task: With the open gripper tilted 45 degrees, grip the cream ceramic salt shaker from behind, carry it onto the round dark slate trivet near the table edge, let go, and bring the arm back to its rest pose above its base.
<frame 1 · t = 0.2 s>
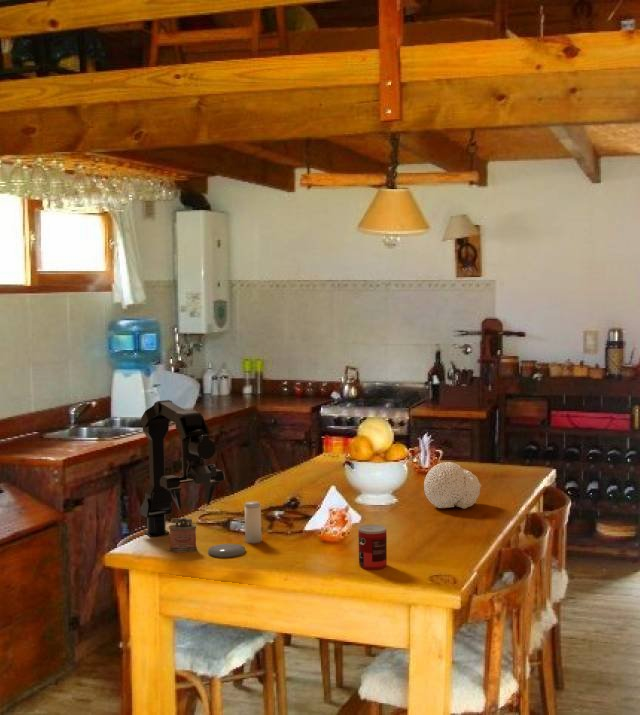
hand: (193, 507, 288), 14 cm above the table, fingers open, 9 cm apart
beige brain coral: (451, 506, 341), on the table
canned food: (372, 566, 277), on the table
lighter: (183, 550, 294), on the table
slate trivet: (226, 552, 292), on the table
salt shaker: (253, 541, 303), on the table
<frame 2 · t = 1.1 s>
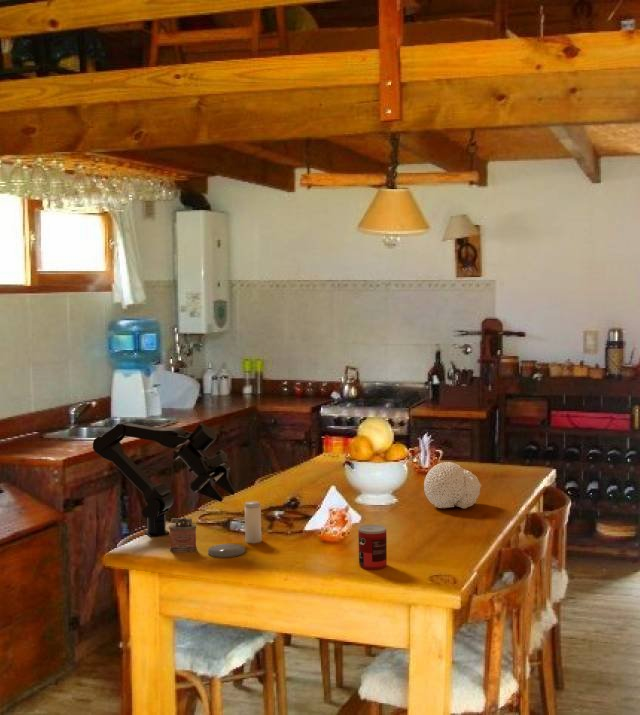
hand: (228, 497, 304), 13 cm above the table, fingers open, 9 cm apart
nothing on the table moved.
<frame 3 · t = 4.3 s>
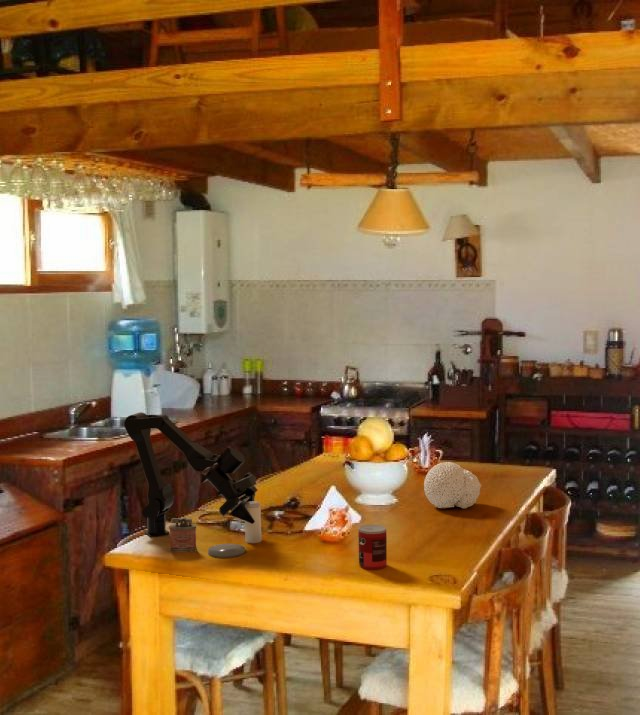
hand: (257, 520, 302), 7 cm above the table, fingers closed on salt shaker, 5 cm apart
salt shaker: (253, 540, 303), on the table, touching gripper
everything else where it was.
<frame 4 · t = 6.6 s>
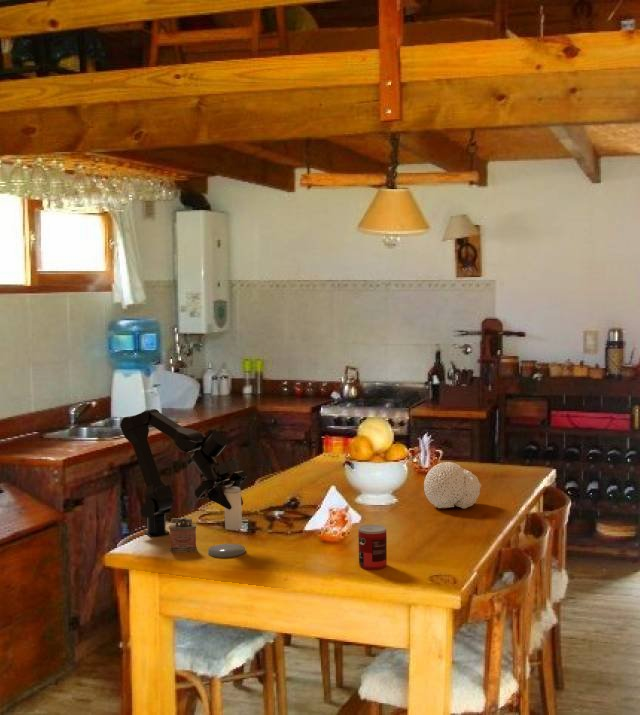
hand: (236, 506, 292), 13 cm above the table, fingers closed on salt shaker, 5 cm apart
salt shaker: (233, 527, 293), point 7 cm above the table, touching gripper
everything else where it was.
when the fingers open (9 cm above the table, at t = 8.8 s): salt shaker drops 1 cm, resting on slate trivet.
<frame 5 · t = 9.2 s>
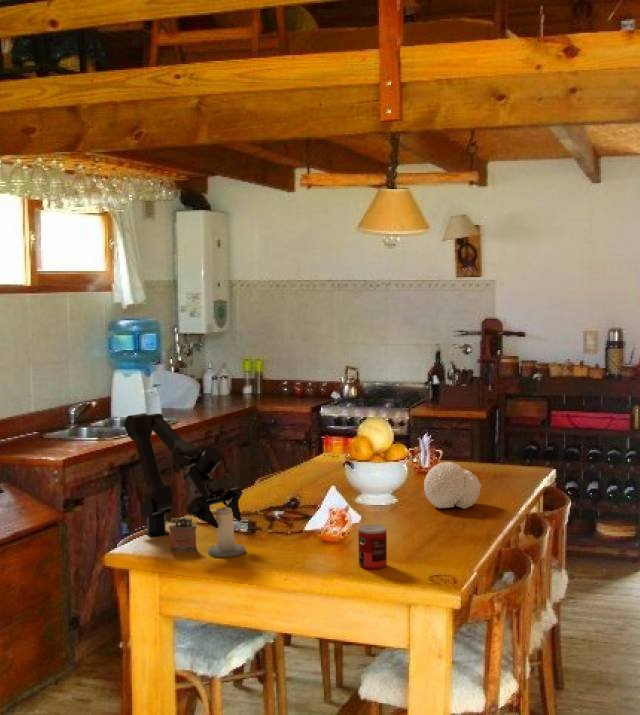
hand: (229, 524, 290), 9 cm above the table, fingers open, 9 cm apart
salt shaker: (226, 548, 292), point 1 cm above the table, touching slate trivet
everything else where it was.
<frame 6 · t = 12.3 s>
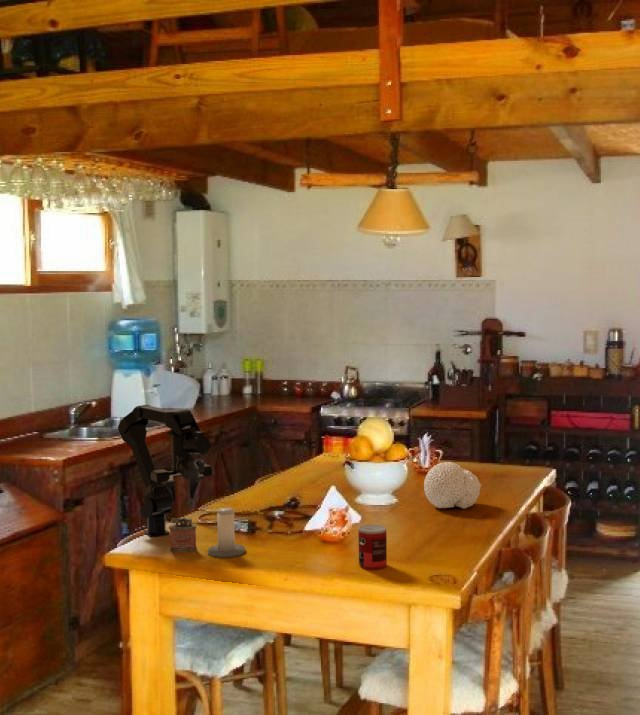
hand: (183, 500, 303), 13 cm above the table, fingers open, 6 cm apart
nothing on the table moved.
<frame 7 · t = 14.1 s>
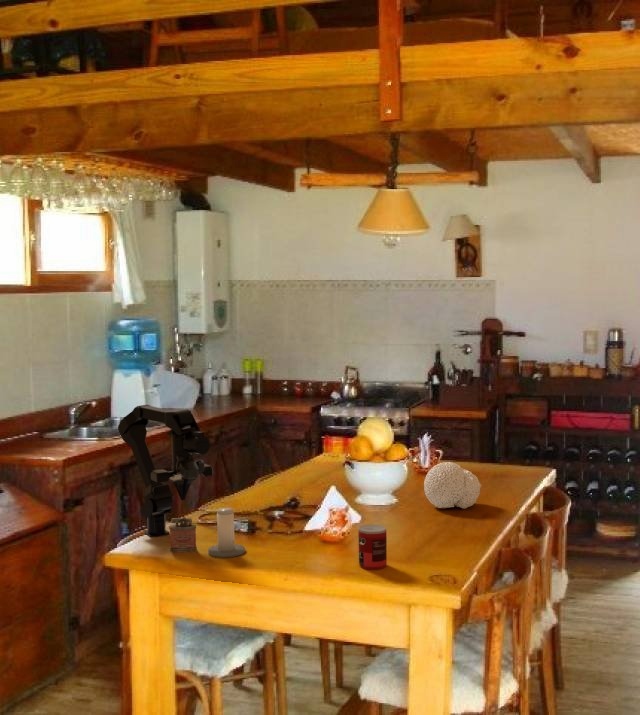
hand: (183, 500, 303), 13 cm above the table, fingers closed
nothing on the table moved.
at the end: salt shaker 0.1 cm off-centre on the slate trivet, point 1.0 cm above the slate trivet's base; salt shaker tilted 0°; the gripper is holding nothing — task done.
